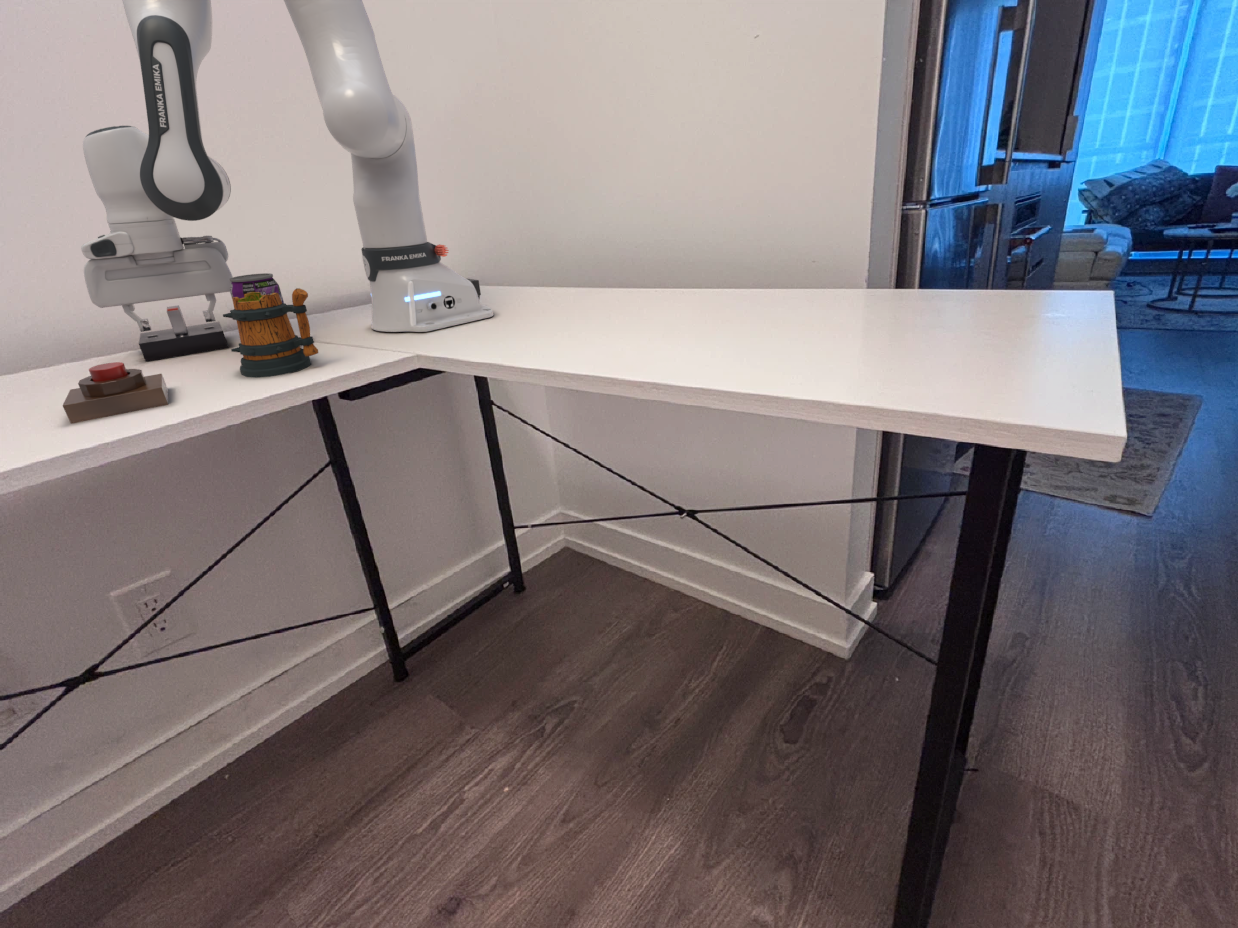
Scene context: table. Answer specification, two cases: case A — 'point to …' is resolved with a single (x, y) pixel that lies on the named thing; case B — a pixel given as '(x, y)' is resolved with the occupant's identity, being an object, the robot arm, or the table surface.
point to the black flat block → (182, 341)
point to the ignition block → (115, 396)
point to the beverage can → (254, 285)
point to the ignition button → (108, 371)
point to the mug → (271, 334)
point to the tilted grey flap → (177, 320)
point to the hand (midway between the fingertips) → (179, 325)
